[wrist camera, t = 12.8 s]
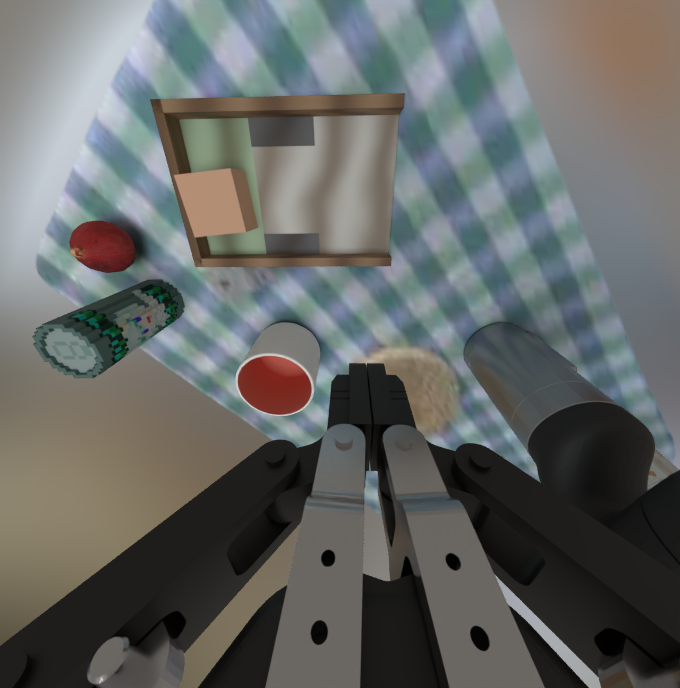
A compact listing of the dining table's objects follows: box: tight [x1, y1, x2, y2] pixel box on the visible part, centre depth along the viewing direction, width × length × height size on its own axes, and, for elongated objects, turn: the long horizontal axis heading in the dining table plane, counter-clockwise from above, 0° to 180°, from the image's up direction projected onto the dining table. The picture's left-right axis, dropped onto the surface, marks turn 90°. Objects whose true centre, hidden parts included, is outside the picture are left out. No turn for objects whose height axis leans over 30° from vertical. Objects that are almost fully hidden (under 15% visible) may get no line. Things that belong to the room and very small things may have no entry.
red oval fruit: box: [69, 221, 136, 273], centre depth 32 cm, size 6×6×8 cm
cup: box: [236, 322, 320, 416], centre depth 38 cm, size 10×10×10 cm
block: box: [174, 168, 258, 237], centre depth 31 cm, size 6×6×4 cm
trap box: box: [150, 93, 405, 267], centre depth 31 cm, size 24×16×3 cm, turn 91°
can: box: [33, 280, 185, 378], centre depth 33 cm, size 6×6×15 cm
